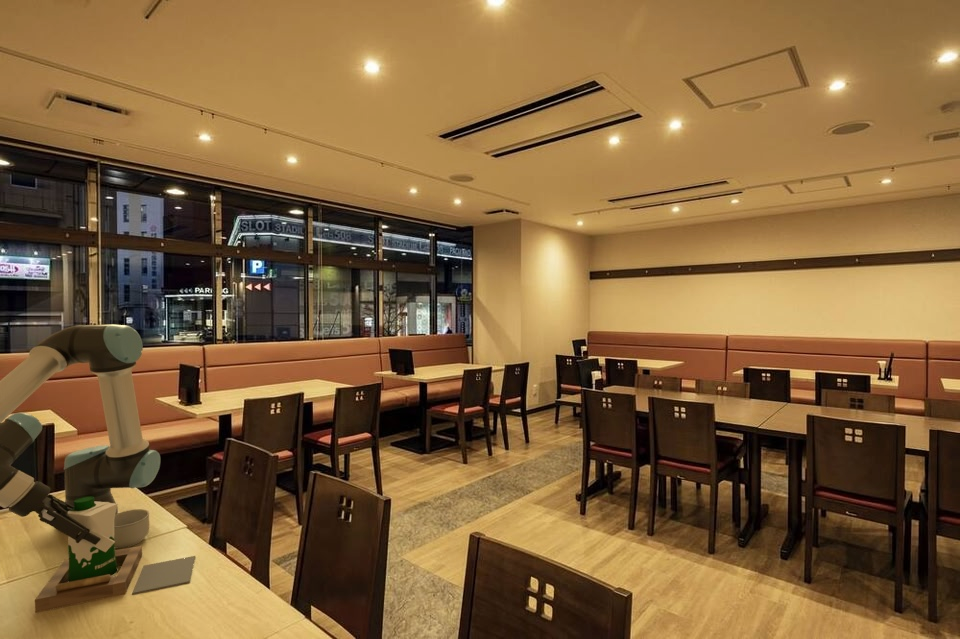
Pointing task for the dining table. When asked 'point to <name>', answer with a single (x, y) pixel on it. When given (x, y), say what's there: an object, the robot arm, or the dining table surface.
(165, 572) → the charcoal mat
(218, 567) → the dining table surface
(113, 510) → the soya milk
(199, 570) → the dining table surface
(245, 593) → the dining table surface
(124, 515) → the teacup
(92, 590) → the frame
